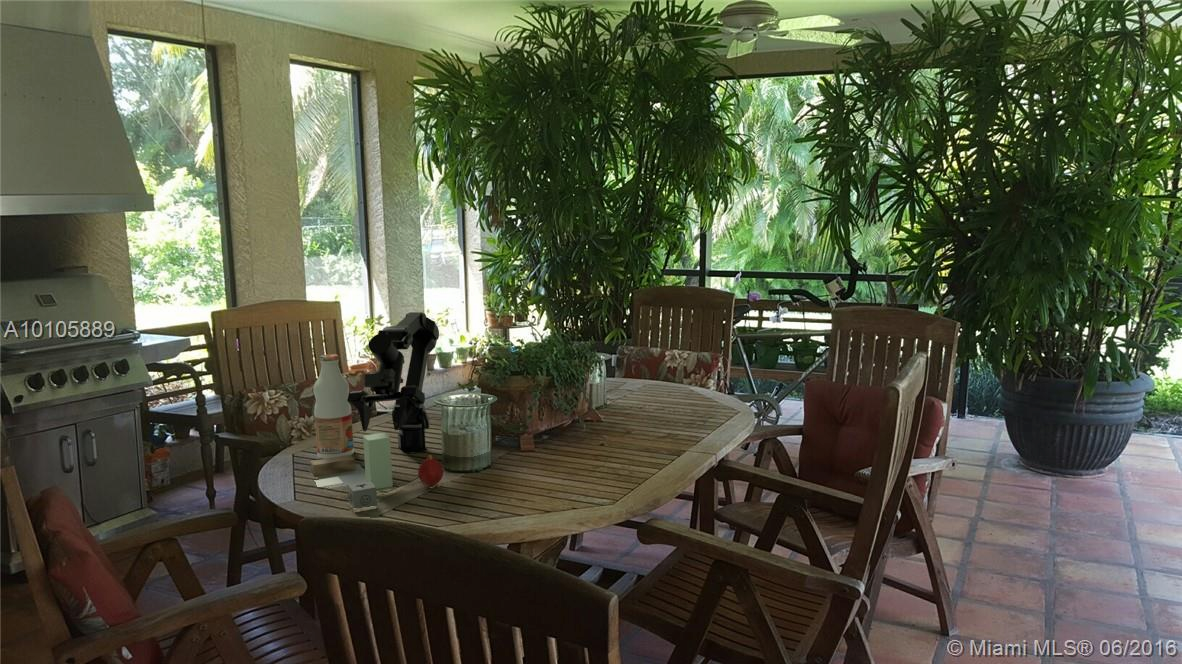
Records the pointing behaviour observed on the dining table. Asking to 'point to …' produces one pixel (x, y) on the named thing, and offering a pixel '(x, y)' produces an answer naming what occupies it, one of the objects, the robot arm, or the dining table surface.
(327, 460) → the beam
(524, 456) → the dining table surface
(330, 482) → the board
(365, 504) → the dice cube
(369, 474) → the post
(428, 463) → the onion
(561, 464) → the dining table surface
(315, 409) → the fruit juice
